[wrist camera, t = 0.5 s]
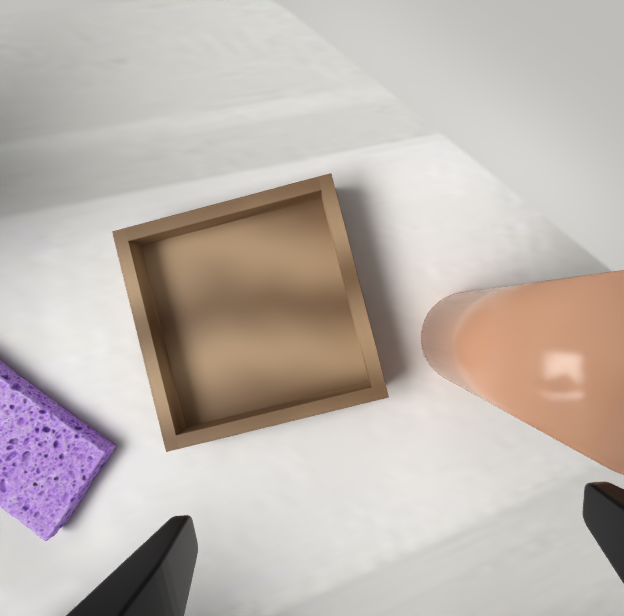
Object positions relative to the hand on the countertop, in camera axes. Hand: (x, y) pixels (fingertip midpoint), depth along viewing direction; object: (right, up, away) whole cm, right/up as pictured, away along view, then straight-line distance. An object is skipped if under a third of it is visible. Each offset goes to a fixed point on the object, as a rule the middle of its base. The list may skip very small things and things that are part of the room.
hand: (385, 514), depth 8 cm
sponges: (-22, -4, +16) cm, 28 cm away
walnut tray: (-5, +4, +15) cm, 17 cm away
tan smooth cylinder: (+8, +3, +15) cm, 17 cm away
